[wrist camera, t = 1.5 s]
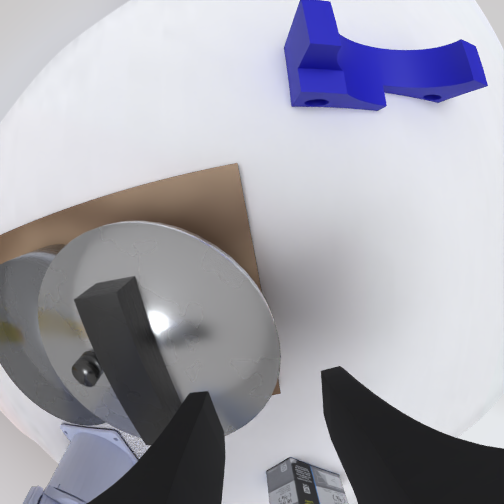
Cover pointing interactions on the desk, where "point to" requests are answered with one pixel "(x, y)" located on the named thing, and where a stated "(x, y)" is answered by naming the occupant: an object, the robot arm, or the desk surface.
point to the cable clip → (369, 66)
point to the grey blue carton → (303, 484)
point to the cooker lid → (156, 327)
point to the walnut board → (155, 216)
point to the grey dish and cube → (33, 338)
